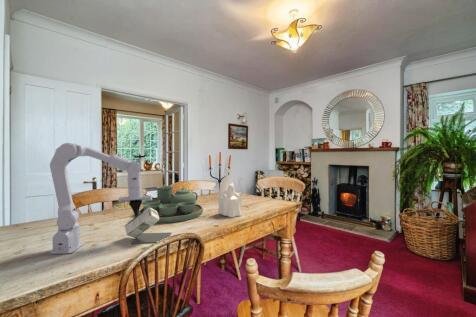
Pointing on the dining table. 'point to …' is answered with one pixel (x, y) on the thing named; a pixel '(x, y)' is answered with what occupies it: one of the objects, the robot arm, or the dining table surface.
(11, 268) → the dining table surface
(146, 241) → the mat
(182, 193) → the tea set
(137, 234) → the syrup box
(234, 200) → the religious statue
